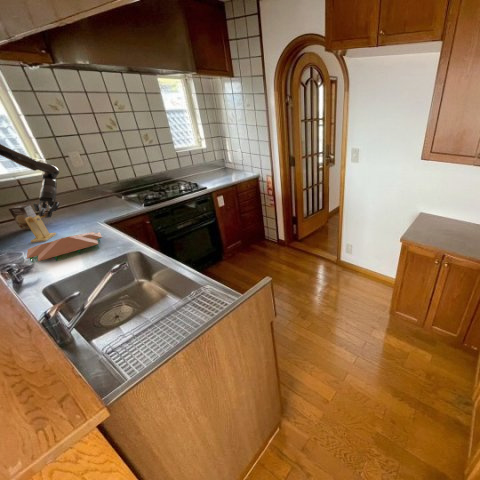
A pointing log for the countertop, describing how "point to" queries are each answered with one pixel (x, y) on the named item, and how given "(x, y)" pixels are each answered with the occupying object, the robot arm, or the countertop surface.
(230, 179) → the countertop surface
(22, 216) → the coffee box
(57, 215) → the countertop surface
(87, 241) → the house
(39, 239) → the flush bracket
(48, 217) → the flush lever
